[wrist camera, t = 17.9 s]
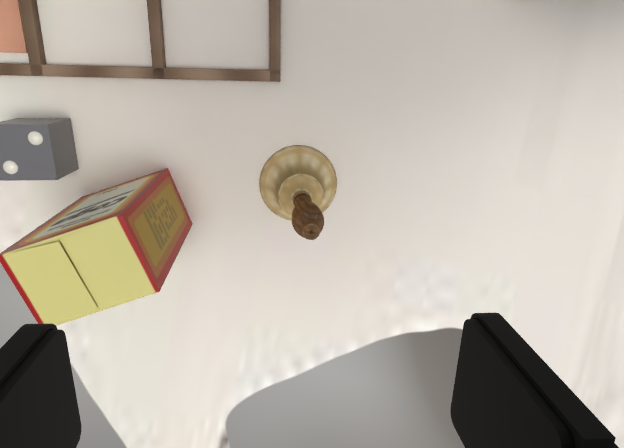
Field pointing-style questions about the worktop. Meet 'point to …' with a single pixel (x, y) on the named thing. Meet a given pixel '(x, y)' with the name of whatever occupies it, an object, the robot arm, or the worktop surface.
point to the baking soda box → (100, 250)
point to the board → (10, 38)
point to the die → (36, 149)
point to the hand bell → (299, 187)
